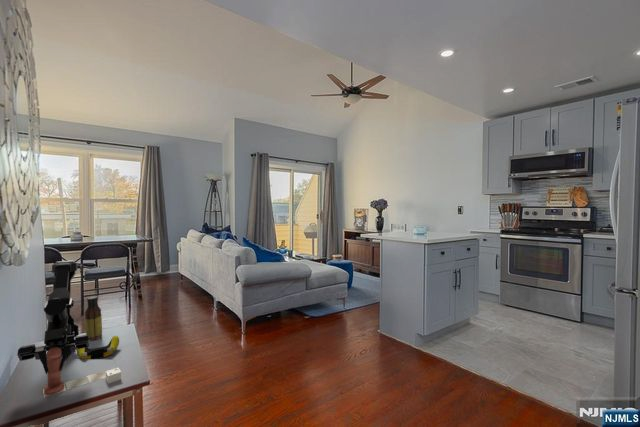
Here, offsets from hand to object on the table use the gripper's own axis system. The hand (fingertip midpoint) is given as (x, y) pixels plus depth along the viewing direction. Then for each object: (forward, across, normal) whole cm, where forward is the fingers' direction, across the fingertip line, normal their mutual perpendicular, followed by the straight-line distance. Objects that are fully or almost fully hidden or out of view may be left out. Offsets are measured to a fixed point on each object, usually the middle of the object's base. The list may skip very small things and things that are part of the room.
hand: (53, 371), depth 102 cm
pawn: (+4, 0, +6) cm, 7 cm away
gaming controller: (-12, +12, +24) cm, 29 cm away
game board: (+2, +6, +9) cm, 11 cm away
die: (+7, +17, +4) cm, 19 cm away
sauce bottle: (-25, +10, +37) cm, 46 cm away
